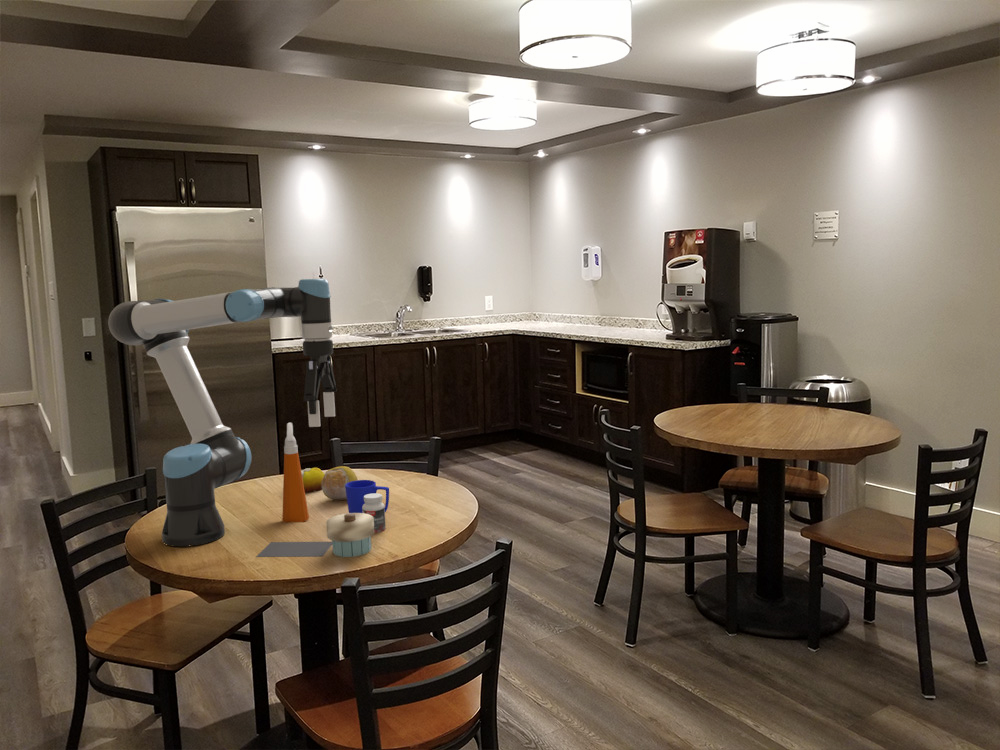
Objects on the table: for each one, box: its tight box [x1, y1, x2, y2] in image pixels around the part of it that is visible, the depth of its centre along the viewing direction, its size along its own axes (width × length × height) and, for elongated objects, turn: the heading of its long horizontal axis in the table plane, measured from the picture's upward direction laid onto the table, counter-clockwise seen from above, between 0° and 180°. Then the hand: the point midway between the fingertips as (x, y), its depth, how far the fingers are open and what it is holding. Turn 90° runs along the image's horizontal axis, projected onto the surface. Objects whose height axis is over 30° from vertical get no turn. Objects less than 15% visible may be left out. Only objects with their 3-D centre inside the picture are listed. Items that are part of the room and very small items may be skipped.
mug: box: [345, 479, 390, 513], centre depth 212 cm, size 8×12×10 cm
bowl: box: [331, 536, 372, 558], centre depth 187 cm, size 9×9×5 cm
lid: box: [325, 512, 375, 542], centre depth 186 cm, size 11×11×5 cm
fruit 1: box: [301, 467, 325, 494], centre depth 246 cm, size 11×10×8 cm
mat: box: [255, 541, 332, 558], centre depth 189 cm, size 16×10×1 cm, turn 86°
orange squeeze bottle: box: [281, 422, 310, 523], centre depth 214 cm, size 7×11×26 cm, turn 14°
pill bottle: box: [362, 492, 387, 534], centre depth 201 cm, size 6×6×10 cm
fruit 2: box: [321, 465, 358, 501], centre depth 232 cm, size 10×11×10 cm
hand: (322, 421), depth 203 cm, fingers open, 13 cm apart
